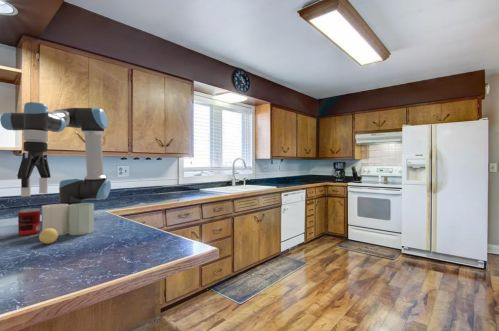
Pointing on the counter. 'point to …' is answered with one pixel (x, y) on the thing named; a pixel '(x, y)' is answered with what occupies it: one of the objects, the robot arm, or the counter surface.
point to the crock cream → (55, 218)
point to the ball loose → (48, 236)
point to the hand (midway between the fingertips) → (35, 194)
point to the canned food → (28, 221)
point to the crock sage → (80, 218)
